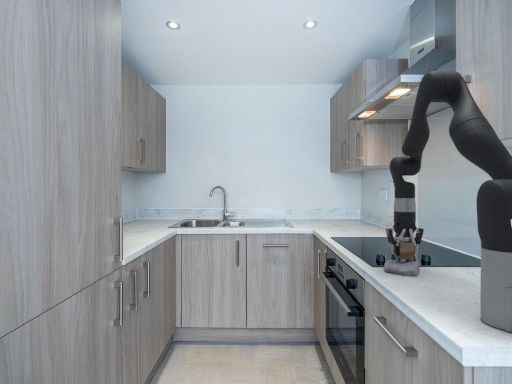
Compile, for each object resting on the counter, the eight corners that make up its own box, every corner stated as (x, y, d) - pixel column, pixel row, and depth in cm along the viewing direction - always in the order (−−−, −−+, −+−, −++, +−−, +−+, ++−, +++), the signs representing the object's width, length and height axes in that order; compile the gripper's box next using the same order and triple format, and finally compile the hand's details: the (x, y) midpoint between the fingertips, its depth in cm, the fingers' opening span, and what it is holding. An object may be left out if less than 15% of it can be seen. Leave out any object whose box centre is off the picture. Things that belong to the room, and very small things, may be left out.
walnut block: (414, 259, 120) (414, 243, 119) (401, 259, 119) (401, 243, 119) (407, 256, 125) (407, 240, 124) (394, 256, 124) (394, 240, 124)
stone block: (418, 282, 114) (420, 270, 122) (417, 269, 113) (419, 258, 121) (382, 279, 120) (386, 267, 128) (381, 266, 119) (385, 256, 127)
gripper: (390, 211, 117) (390, 258, 118) (429, 210, 118) (428, 257, 119) (381, 209, 125) (381, 253, 125) (417, 209, 126) (417, 253, 126)
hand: (404, 255), depth 122 cm, fingers closed on walnut block, 5 cm apart
